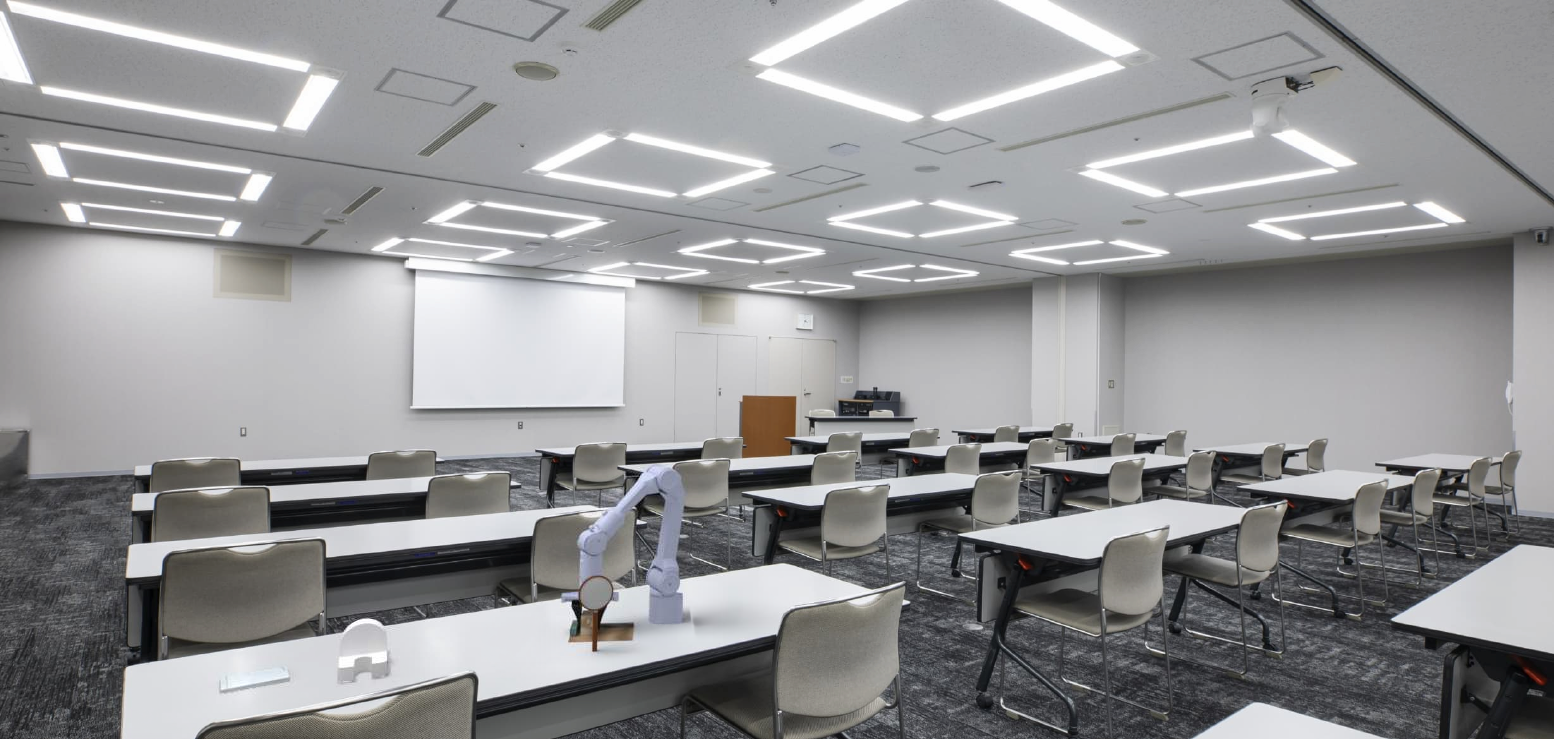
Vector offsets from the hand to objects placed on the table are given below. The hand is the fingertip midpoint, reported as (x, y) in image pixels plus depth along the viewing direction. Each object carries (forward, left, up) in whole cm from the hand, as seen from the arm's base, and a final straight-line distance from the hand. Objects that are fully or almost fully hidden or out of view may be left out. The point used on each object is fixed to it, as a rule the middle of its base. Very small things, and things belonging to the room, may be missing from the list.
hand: (589, 628), depth 201 cm
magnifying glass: (-2, +13, -3) cm, 14 cm away
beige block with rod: (0, 0, -1) cm, 1 cm away
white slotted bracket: (+50, +15, -3) cm, 52 cm away
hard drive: (+70, +21, -3) cm, 73 cm away
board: (-3, +1, -2) cm, 4 cm away
